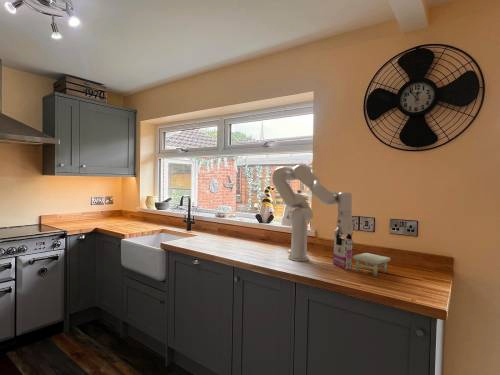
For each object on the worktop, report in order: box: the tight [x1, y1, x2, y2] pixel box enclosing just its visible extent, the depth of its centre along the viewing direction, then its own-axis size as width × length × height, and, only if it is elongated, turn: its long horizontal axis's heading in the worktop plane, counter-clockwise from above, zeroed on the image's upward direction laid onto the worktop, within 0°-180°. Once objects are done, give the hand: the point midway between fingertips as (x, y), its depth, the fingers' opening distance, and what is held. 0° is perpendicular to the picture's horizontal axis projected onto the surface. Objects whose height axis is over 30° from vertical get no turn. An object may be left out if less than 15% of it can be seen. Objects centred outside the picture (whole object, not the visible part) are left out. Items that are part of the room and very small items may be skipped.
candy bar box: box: [332, 236, 354, 271], centre depth 169 cm, size 11×5×16 cm, turn 21°
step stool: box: [352, 252, 391, 277], centre depth 162 cm, size 14×14×8 cm
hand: (344, 244), depth 169 cm, fingers open, 9 cm apart
